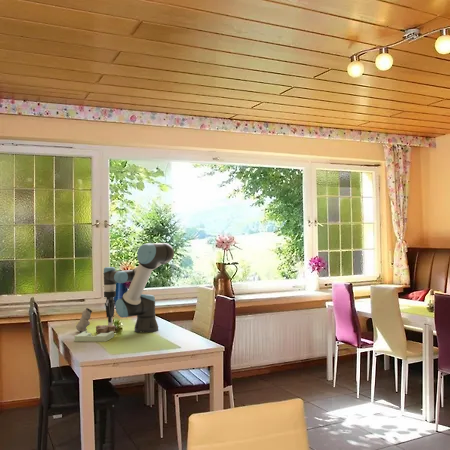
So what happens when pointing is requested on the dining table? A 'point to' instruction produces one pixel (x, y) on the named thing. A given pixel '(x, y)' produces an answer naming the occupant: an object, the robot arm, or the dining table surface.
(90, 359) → the dining table surface
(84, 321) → the figurine
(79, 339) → the slot frame
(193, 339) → the dining table surface
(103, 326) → the t block
